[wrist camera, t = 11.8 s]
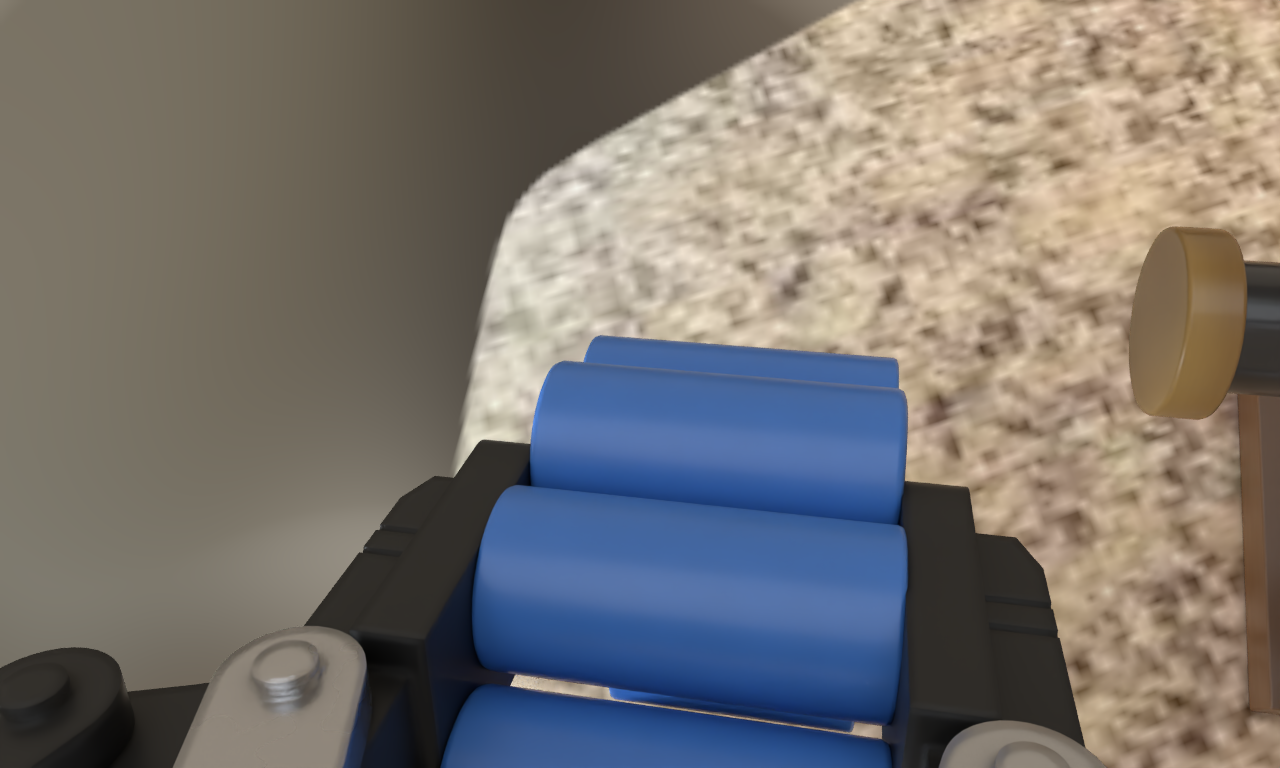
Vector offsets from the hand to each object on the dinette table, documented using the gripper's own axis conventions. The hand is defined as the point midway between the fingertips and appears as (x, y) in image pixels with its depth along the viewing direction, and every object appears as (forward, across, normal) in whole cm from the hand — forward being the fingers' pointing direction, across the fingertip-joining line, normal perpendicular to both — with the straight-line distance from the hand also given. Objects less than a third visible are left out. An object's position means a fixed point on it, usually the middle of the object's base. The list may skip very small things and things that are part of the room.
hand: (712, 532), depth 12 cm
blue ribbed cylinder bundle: (+4, 0, +6) cm, 7 cm away
